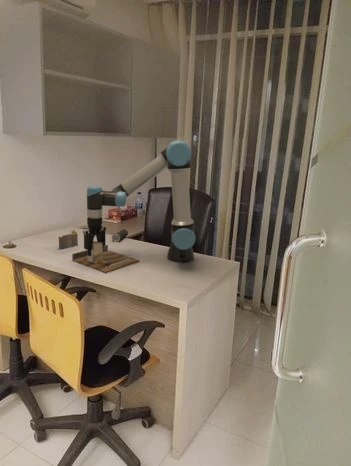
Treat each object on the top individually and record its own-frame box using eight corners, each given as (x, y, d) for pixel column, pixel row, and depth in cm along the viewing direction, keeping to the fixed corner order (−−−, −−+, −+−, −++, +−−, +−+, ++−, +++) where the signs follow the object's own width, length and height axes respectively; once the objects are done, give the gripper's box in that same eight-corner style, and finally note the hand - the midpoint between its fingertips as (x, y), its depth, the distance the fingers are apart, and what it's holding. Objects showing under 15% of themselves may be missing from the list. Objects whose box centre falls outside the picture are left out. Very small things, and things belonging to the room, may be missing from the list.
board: (139, 261, 196) (139, 255, 195) (106, 273, 177) (106, 266, 176) (106, 251, 211) (106, 244, 210) (72, 260, 192) (72, 253, 191)
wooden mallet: (111, 264, 187) (112, 246, 184) (104, 267, 183) (104, 248, 180) (94, 258, 194) (94, 240, 192) (87, 260, 190) (87, 242, 188)
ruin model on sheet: (74, 245, 220) (74, 229, 218) (77, 246, 219) (77, 230, 216) (58, 249, 211) (58, 233, 209) (61, 250, 210) (61, 234, 207)
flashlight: (121, 236, 245) (121, 228, 243) (128, 236, 243) (128, 229, 242) (111, 241, 230) (111, 233, 229) (119, 242, 229) (119, 234, 227)
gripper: (103, 213, 193) (103, 254, 199) (75, 218, 179) (76, 262, 185) (113, 215, 189) (112, 258, 195) (85, 220, 175) (86, 266, 181)
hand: (95, 260), depth 190 cm, fingers closed on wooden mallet, 5 cm apart
